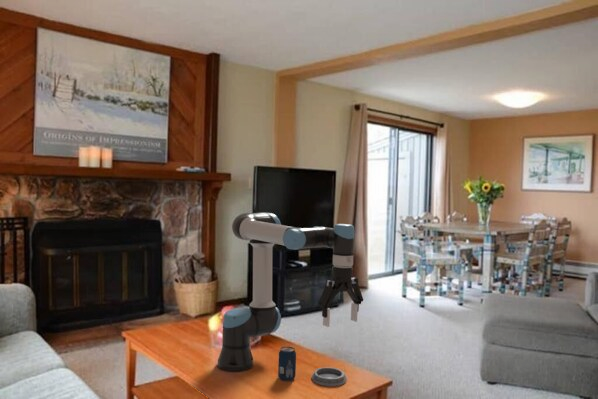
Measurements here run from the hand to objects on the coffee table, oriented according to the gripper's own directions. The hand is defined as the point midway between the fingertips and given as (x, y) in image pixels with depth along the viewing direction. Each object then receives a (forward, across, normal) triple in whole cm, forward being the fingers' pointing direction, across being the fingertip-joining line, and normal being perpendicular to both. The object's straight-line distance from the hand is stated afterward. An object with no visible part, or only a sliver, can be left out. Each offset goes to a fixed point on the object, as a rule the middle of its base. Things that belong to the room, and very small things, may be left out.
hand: (340, 323), depth 177 cm
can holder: (+27, +7, +13) cm, 31 cm away
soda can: (+27, -8, +22) cm, 36 cm away
